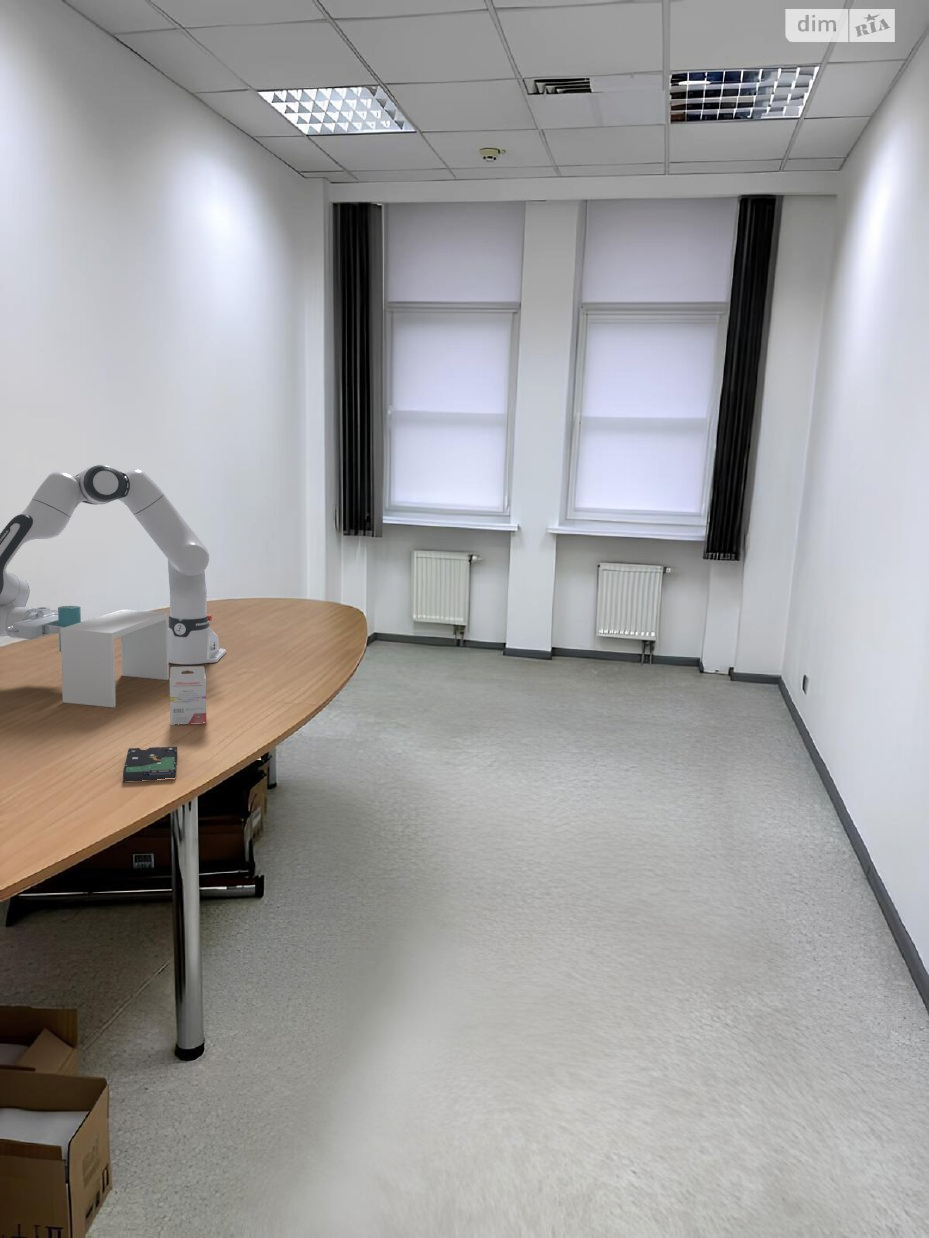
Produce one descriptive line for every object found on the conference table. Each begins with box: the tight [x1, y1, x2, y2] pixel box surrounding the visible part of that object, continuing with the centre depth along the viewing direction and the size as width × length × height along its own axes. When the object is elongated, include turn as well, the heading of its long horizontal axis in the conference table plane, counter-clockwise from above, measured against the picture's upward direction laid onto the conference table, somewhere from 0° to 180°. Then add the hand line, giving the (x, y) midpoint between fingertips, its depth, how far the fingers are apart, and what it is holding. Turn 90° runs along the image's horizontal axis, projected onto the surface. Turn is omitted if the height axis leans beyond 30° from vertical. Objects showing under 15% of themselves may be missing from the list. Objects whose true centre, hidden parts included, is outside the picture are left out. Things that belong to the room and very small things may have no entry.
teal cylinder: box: [57, 605, 82, 653], centre depth 235 cm, size 6×6×12 cm
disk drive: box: [122, 746, 178, 783], centre depth 181 cm, size 10×3×15 cm
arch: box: [60, 608, 170, 708], centre depth 234 cm, size 30×14×20 cm, turn 172°
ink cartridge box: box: [169, 665, 207, 726], centre depth 211 cm, size 9×5×15 cm, turn 105°
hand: (72, 627), depth 235 cm, fingers closed on teal cylinder, 6 cm apart
